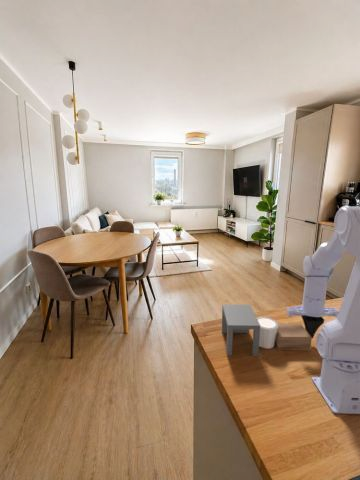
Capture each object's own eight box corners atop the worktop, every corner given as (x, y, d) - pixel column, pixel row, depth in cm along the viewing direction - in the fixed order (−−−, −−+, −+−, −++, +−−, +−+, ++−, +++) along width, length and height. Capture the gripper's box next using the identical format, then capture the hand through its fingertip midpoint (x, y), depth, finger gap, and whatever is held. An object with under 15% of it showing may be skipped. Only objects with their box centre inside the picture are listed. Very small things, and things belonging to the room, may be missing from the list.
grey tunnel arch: (258, 355, 68) (260, 325, 66) (227, 355, 68) (228, 325, 66) (248, 331, 79) (249, 304, 77) (221, 330, 80) (222, 304, 78)
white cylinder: (272, 336, 76) (274, 316, 75) (279, 350, 70) (281, 329, 68) (251, 335, 77) (252, 316, 76) (256, 349, 70) (257, 328, 69)
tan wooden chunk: (310, 350, 70) (311, 337, 69) (277, 350, 70) (279, 336, 69) (299, 335, 76) (300, 323, 75) (270, 335, 77) (270, 323, 76)
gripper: (331, 290, 73) (326, 329, 76) (284, 290, 73) (280, 328, 76) (346, 301, 66) (339, 343, 69) (293, 300, 67) (289, 342, 70)
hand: (309, 336), depth 72 cm, fingers closed
